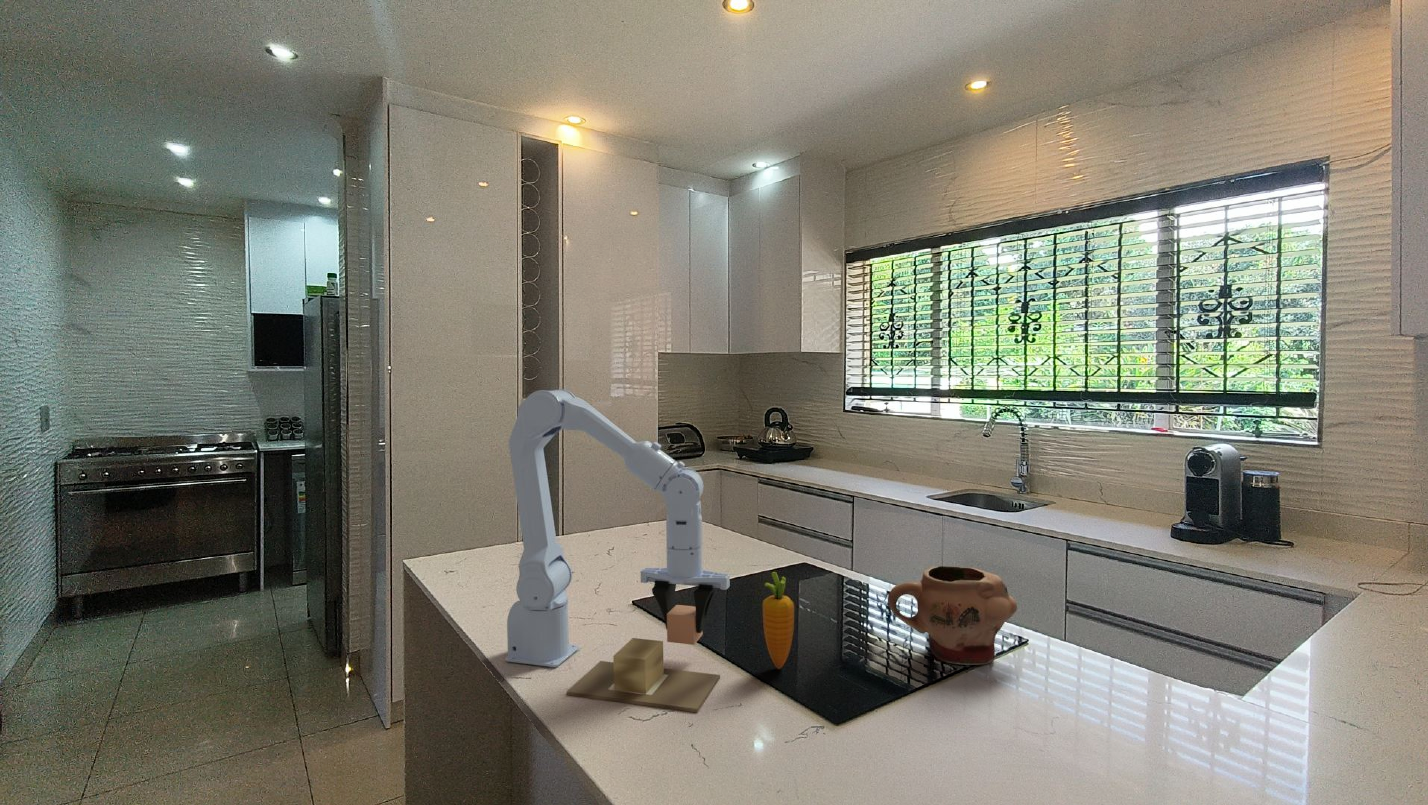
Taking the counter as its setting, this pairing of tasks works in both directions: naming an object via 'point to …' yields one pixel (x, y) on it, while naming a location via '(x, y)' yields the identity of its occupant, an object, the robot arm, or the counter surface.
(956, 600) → the brown clay mug
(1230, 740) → the counter surface
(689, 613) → the terracotta cube
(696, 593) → the robot arm
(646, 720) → the counter surface
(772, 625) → the carrot
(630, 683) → the oak block
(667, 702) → the brown wooden board
